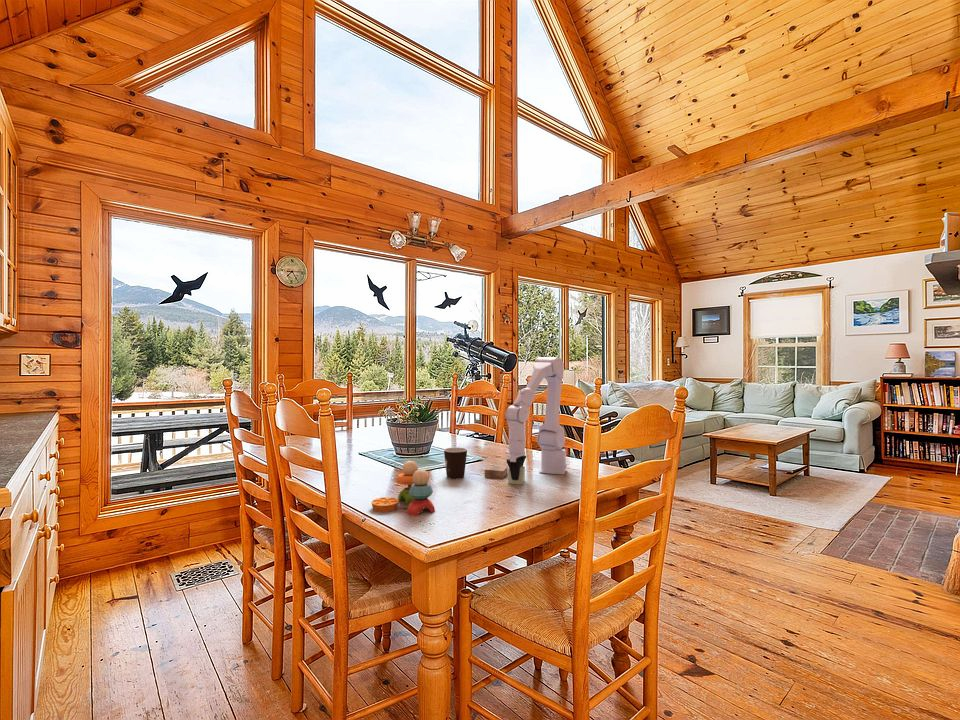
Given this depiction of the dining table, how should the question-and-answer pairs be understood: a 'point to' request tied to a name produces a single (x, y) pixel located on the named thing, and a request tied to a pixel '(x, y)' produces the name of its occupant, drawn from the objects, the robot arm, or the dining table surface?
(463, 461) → the coffee mug
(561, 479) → the dining table surface
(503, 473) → the walnut block
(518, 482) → the green cube
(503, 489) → the dining table surface
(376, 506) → the stacking toy
